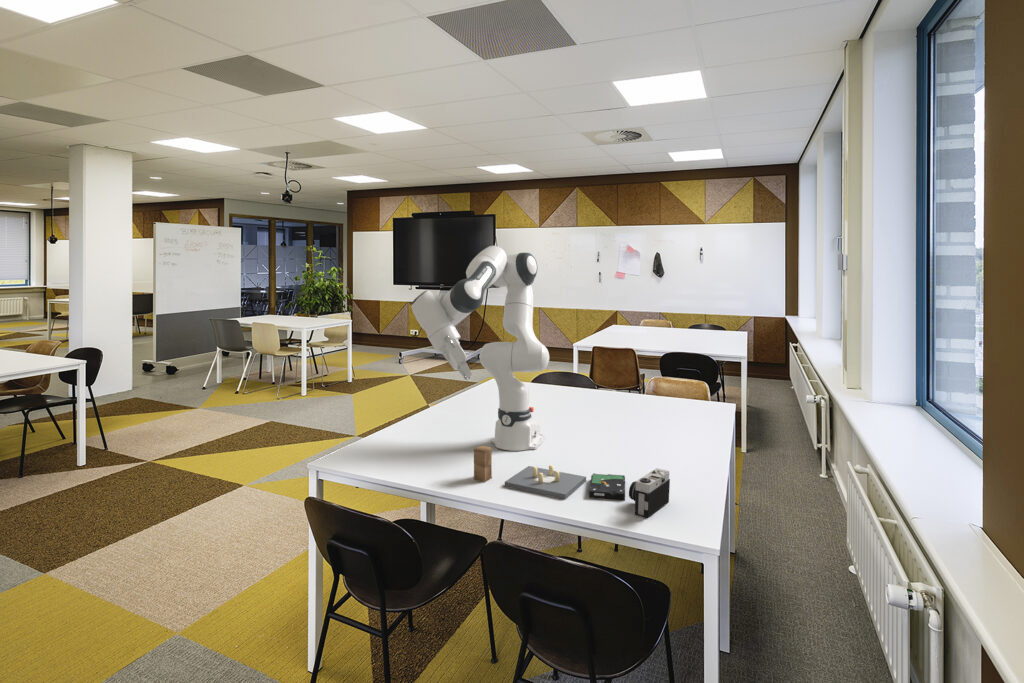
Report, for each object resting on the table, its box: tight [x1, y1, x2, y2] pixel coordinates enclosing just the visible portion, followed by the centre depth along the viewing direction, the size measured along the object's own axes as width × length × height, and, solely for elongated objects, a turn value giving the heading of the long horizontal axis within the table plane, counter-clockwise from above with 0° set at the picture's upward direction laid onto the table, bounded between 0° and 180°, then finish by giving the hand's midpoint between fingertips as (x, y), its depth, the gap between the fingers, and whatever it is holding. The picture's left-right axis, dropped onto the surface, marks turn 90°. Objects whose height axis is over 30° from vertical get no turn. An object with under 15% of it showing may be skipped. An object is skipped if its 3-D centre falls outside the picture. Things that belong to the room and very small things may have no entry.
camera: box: [628, 468, 671, 519], centre depth 154 cm, size 14×9×10 cm, turn 133°
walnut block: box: [473, 445, 493, 483], centre depth 174 cm, size 4×4×10 cm
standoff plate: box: [504, 464, 587, 500], centre depth 171 cm, size 16×20×4 cm
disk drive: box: [588, 473, 626, 502], centre depth 167 cm, size 10×3×15 cm
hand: (469, 377), depth 171 cm, fingers open, 8 cm apart
